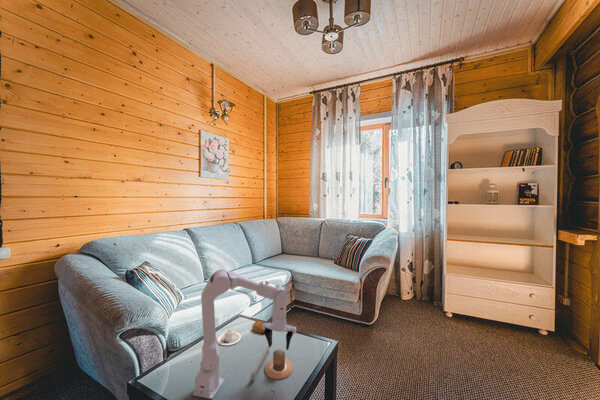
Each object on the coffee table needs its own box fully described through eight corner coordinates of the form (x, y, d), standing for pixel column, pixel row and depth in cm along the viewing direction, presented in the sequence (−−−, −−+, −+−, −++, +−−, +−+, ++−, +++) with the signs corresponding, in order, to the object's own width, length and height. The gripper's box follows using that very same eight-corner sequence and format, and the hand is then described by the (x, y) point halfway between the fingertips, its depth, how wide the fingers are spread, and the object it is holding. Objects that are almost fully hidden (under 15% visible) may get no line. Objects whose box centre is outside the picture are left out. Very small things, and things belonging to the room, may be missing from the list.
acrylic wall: (254, 381, 98) (254, 374, 97) (251, 380, 98) (251, 373, 98) (269, 352, 115) (269, 346, 115) (266, 352, 115) (266, 346, 115)
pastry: (271, 331, 134) (271, 324, 134) (262, 336, 129) (262, 329, 129) (260, 324, 140) (260, 318, 140) (250, 330, 135) (250, 323, 135)
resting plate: (288, 381, 98) (288, 379, 98) (260, 376, 100) (260, 374, 100) (295, 361, 109) (295, 360, 109) (270, 357, 112) (270, 356, 112)
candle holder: (230, 330, 134) (230, 322, 134) (246, 337, 127) (246, 329, 127) (211, 341, 124) (212, 332, 124) (227, 349, 118) (227, 341, 117)
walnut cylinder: (282, 372, 102) (283, 357, 102) (271, 370, 103) (271, 356, 103) (286, 363, 107) (286, 350, 107) (275, 362, 108) (275, 348, 108)
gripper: (298, 313, 107) (297, 343, 107) (266, 309, 110) (266, 339, 110) (294, 321, 100) (293, 354, 100) (260, 317, 103) (260, 349, 103)
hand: (279, 347), depth 105 cm, fingers open, 7 cm apart
